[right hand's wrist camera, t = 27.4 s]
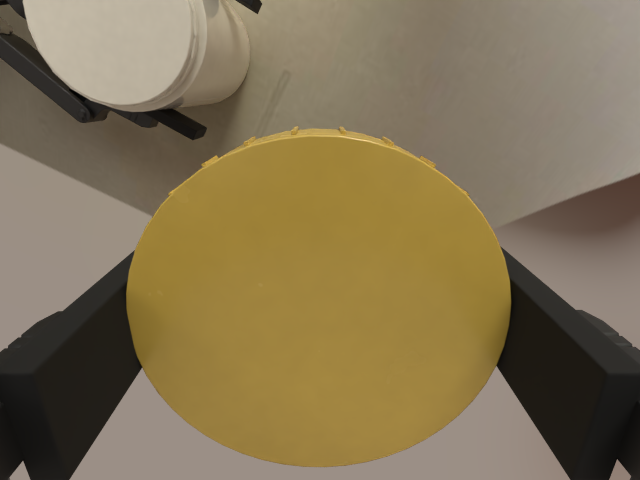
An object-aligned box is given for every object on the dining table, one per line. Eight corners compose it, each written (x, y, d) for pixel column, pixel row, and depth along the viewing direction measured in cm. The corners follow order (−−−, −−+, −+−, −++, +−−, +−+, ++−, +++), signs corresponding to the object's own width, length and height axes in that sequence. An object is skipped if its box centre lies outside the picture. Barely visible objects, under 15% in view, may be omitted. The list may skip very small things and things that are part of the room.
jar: (152, -30, 31) (15, -129, 17) (261, 9, 32) (215, -55, 18) (138, 86, 34) (12, 82, 20) (237, 118, 35) (182, 135, 21)
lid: (140, 397, 13) (115, 438, 12) (164, 83, 10) (133, 81, 8) (424, 446, 14) (437, 491, 12) (545, 174, 10) (585, 189, 9)
